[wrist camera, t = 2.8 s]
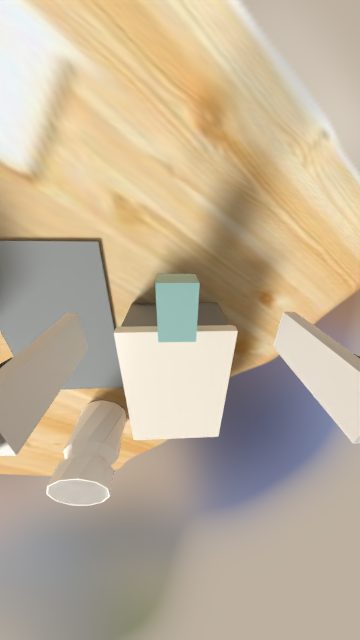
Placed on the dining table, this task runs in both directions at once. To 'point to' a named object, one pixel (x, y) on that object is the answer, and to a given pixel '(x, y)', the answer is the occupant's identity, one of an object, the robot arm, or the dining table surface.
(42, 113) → the dining table surface
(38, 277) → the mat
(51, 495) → the white vase
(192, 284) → the cream flat block
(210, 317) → the tub
